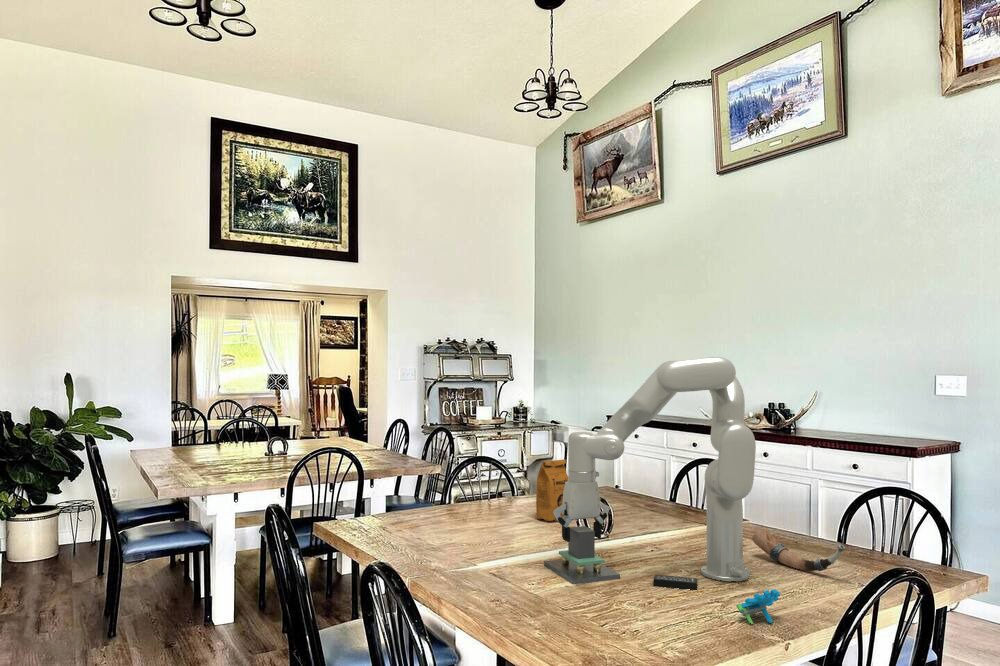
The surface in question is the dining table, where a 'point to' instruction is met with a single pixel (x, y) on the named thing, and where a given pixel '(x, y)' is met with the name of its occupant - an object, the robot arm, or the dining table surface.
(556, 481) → the coffee package
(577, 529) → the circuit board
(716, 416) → the robot arm
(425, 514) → the dining table surface
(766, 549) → the drinking horn
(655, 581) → the multiport hub
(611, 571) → the plate
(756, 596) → the blue toy dinosaur
